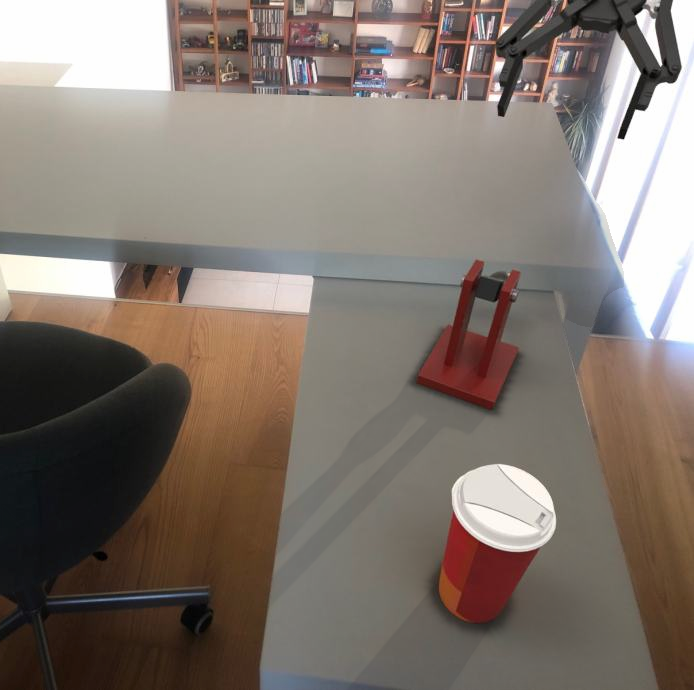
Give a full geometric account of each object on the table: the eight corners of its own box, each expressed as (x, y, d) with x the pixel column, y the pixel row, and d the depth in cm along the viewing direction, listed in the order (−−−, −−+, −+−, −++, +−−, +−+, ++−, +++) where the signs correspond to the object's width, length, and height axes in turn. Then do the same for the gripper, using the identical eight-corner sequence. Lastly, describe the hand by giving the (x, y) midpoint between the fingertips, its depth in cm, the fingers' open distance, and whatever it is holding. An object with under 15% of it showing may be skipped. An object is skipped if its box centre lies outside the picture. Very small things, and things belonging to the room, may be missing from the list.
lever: (483, 294, 89) (493, 267, 88) (512, 303, 87) (522, 275, 87) (465, 299, 76) (476, 268, 75) (498, 309, 75) (509, 277, 74)
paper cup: (531, 591, 62) (578, 495, 53) (488, 654, 58) (532, 561, 49) (453, 540, 66) (484, 442, 57) (408, 594, 62) (434, 499, 53)
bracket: (446, 331, 90) (467, 240, 81) (516, 354, 86) (547, 261, 77) (416, 382, 82) (435, 289, 73) (491, 410, 79) (522, 315, 70)
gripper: (737, -16, 79) (671, 157, 79) (515, -38, 90) (457, 116, 90) (757, -60, 73) (685, 130, 73) (514, -78, 83) (451, 88, 83)
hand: (559, 122), depth 81 cm, fingers open, 13 cm apart
